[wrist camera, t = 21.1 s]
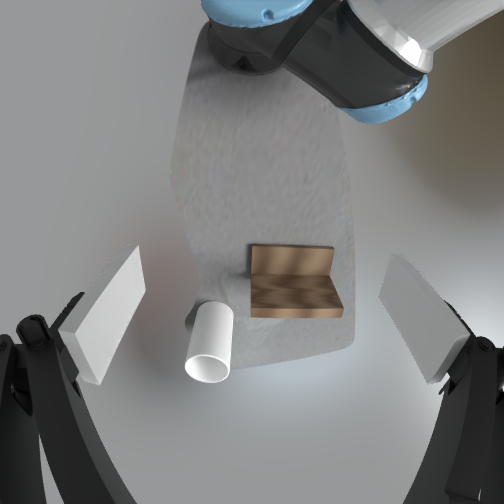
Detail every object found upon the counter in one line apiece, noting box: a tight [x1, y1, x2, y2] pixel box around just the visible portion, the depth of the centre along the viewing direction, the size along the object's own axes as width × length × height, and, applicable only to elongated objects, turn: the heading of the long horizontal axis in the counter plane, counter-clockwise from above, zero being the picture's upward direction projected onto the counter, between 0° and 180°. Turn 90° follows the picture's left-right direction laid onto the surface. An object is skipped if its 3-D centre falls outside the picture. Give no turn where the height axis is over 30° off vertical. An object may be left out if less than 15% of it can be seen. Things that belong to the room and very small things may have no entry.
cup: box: [185, 301, 233, 383], centre depth 54 cm, size 8×8×16 cm
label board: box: [251, 244, 344, 318], centre depth 50 cm, size 16×8×12 cm, turn 88°
